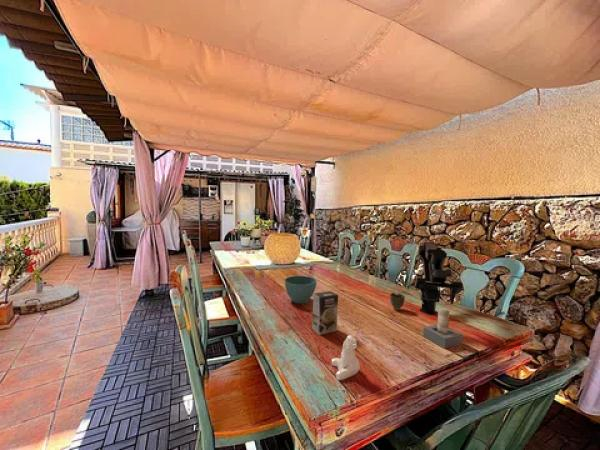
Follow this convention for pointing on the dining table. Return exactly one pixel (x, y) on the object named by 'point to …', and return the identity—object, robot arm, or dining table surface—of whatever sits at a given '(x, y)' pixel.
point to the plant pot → (300, 288)
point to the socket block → (443, 337)
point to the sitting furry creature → (347, 360)
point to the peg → (443, 321)
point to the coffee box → (325, 312)
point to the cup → (397, 300)
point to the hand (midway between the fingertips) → (440, 302)
